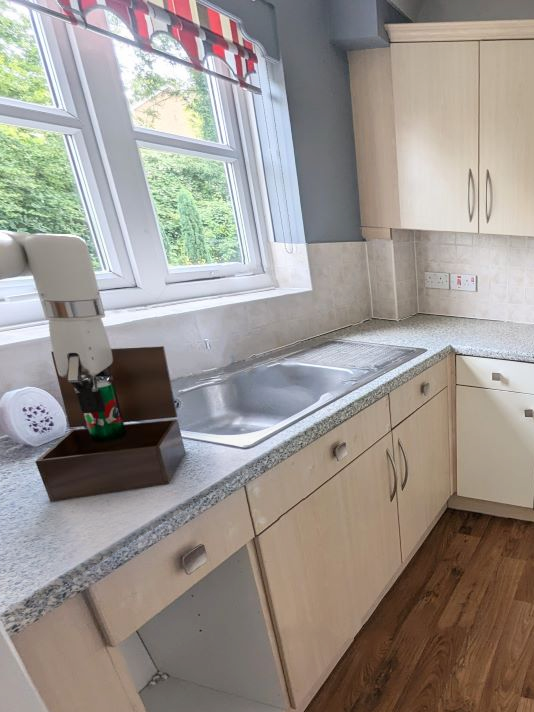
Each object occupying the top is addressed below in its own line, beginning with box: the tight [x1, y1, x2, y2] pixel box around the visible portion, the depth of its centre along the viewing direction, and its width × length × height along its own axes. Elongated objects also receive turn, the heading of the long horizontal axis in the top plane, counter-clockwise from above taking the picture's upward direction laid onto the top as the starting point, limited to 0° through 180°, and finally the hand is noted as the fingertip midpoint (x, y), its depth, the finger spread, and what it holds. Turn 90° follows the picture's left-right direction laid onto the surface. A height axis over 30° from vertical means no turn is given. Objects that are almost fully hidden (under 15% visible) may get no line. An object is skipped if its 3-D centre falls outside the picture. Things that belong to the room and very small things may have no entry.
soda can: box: [83, 376, 126, 443], centre depth 85 cm, size 5×5×12 cm
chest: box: [34, 418, 186, 502], centre depth 89 cm, size 14×17×8 cm
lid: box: [50, 345, 178, 429], centre depth 91 cm, size 15×17×1 cm
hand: (100, 405), depth 85 cm, fingers closed on soda can, 5 cm apart
